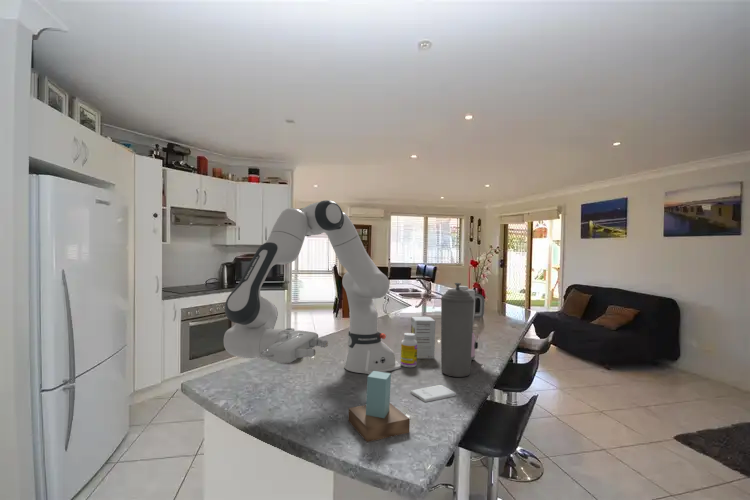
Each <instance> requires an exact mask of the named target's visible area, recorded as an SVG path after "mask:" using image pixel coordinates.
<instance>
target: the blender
mask: <svg viewBox="0 0 750 500" xmlns="http://www.w3.org/2000/svg"><path fill="white" fill-rule="evenodd" d="M459 288H460V289H461V290H466V291H468V293H469V294H470V295H471V296H472V298H473V299H474V309H473V323H474V320H475V319H476V318H477V319H478V318H479V319H480V318H482V317H484V316H485V315H484V313H485V298H484V296H483V294H480V293H476V291H475V289H472V288H469V286H467V285H459ZM450 289H456V287H454V288H447V291H448V290H450ZM476 298H477V299H479V301H480V303H479V304H480V306H479V313H476ZM473 329H474V328H473ZM473 329H472V348H471V361H472V360H473V361H474V360H475V359H476V358H475V357H476V349H478V348H479V343H478V342H477V341H476V335H475V333H474V330H473Z"/></svg>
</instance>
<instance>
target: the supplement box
mask: <svg viewBox="0 0 750 500" xmlns="http://www.w3.org/2000/svg"><path fill="white" fill-rule="evenodd" d="M410 333H414V334H415V340H416V341H417V359H435V349H436V347H435V344H436V320H435V319H433V317H431V316H411V319H410Z"/></svg>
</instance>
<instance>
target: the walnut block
mask: <svg viewBox="0 0 750 500" xmlns="http://www.w3.org/2000/svg"><path fill="white" fill-rule="evenodd" d="M347 416H348V422H349V423H350V425H351V426H352V427H353V428H354V429H355V430H356V431H357V433H358V434H359V435H360V436H361V438H362V439H363V440H364V441H365V442H366V443H369V442H374V441H379V440H383V439H387V438H391V436H392V437H396V435H397V436H400V435H404V434H409V433H410V427H411V426H410V423H411V421H410V420H411V419H410V417H408V415H406V414H404V413H403V412H402V411H401V410H399V408H398V407H396V406H395V405H393V404H392V403H391V402H390V405H389V412H388V413H387V415H386V416H385V418H379V417H374V416H368V415H366V404H364V405H359V406H357V405H356V406H353V407H349V408H348V415H347Z"/></svg>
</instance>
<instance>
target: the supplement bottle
mask: <svg viewBox="0 0 750 500" xmlns="http://www.w3.org/2000/svg"><path fill="white" fill-rule="evenodd" d="M417 363H418V358H417V341H416V340H415V334H414V333H411V332H404V333H403V339H402V340H401V342H400V365H401V367H405V368H414V367H417V365H418V364H417Z"/></svg>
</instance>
